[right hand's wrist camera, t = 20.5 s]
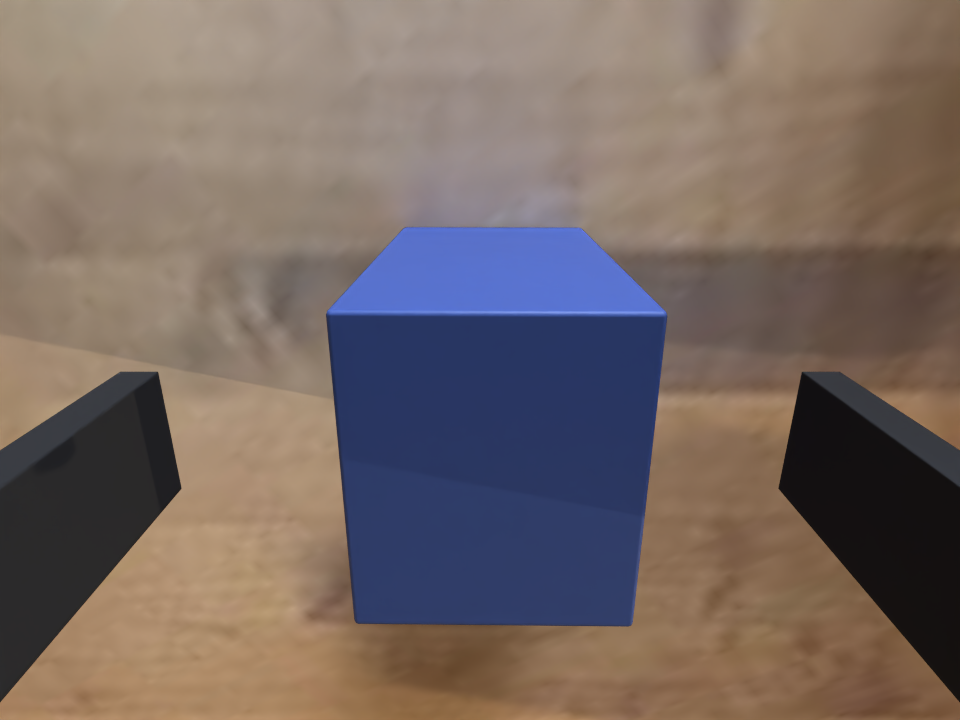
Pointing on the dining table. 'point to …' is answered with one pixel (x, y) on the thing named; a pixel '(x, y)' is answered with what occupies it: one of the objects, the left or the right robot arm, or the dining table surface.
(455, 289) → the brick
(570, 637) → the dining table surface
